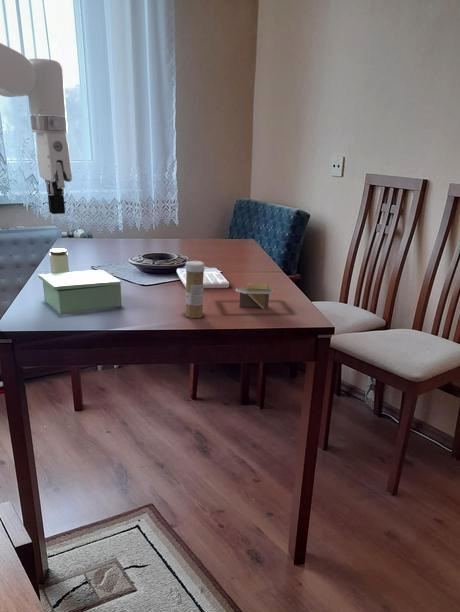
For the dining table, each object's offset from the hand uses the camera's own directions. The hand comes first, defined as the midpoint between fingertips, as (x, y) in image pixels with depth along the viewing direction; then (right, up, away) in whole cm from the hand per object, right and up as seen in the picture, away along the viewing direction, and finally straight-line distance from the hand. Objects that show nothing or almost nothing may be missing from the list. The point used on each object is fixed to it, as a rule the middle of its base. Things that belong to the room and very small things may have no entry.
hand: (57, 213), depth 130 cm
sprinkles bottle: (+31, -23, +10) cm, 40 cm away
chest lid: (+3, -14, +10) cm, 17 cm away
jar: (-7, -13, +25) cm, 29 cm away
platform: (+47, -19, +18) cm, 54 cm away
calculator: (+32, -6, +42) cm, 53 cm away
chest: (+3, -20, +13) cm, 24 cm away
